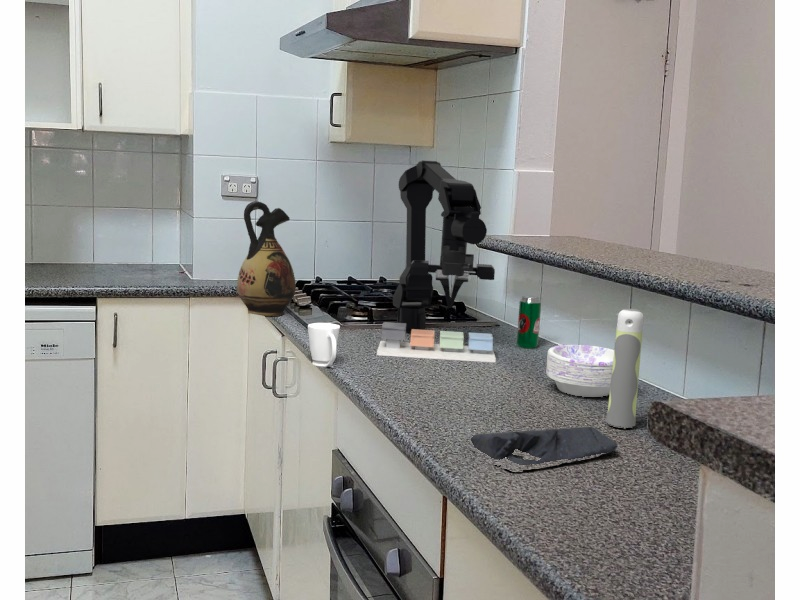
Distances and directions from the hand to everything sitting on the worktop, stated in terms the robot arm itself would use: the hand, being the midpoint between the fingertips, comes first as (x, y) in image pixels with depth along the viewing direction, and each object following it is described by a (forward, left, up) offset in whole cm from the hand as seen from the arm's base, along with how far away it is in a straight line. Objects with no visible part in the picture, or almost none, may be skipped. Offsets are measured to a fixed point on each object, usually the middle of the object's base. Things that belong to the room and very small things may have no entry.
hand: (449, 307), depth 199 cm
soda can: (+10, +19, -10) cm, 24 cm away
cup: (-10, -32, -10) cm, 35 cm away
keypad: (-1, -4, -10) cm, 11 cm away
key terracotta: (-3, -5, -8) cm, 11 cm away
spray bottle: (+52, -28, -10) cm, 60 cm away
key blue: (+8, +2, -8) cm, 11 cm away
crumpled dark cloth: (+49, -49, -11) cm, 70 cm away
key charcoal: (-9, -9, -7) cm, 14 cm away
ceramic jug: (-60, +1, -10) cm, 61 cm away
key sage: (+2, -2, -8) cm, 9 cm away
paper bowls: (+38, -11, -10) cm, 41 cm away
